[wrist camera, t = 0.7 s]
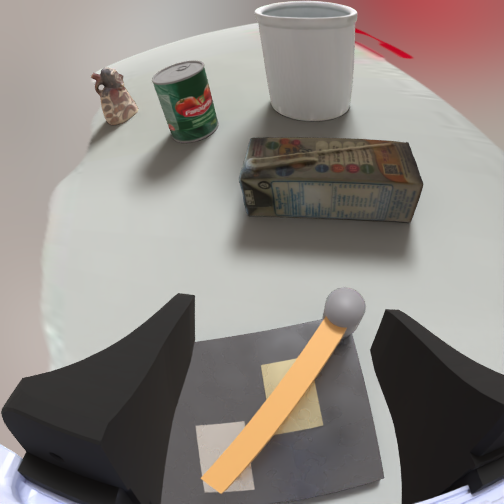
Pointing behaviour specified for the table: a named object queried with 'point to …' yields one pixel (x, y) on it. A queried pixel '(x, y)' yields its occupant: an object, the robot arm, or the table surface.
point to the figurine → (114, 97)
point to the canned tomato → (186, 101)
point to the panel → (288, 435)
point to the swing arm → (289, 388)
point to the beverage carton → (330, 179)
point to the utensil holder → (308, 57)
